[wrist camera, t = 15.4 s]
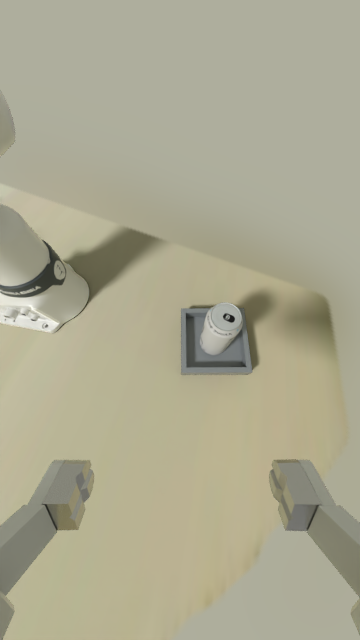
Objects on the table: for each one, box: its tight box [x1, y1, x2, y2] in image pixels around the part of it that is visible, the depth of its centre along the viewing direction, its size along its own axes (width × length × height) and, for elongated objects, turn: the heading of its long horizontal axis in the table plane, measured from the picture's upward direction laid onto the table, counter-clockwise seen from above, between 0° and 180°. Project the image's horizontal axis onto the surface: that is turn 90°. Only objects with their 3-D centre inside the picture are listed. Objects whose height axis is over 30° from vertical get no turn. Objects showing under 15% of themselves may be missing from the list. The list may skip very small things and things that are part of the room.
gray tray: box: [181, 308, 252, 375], centre depth 45 cm, size 14×14×4 cm
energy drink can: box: [200, 303, 243, 355], centre depth 39 cm, size 6×6×15 cm
